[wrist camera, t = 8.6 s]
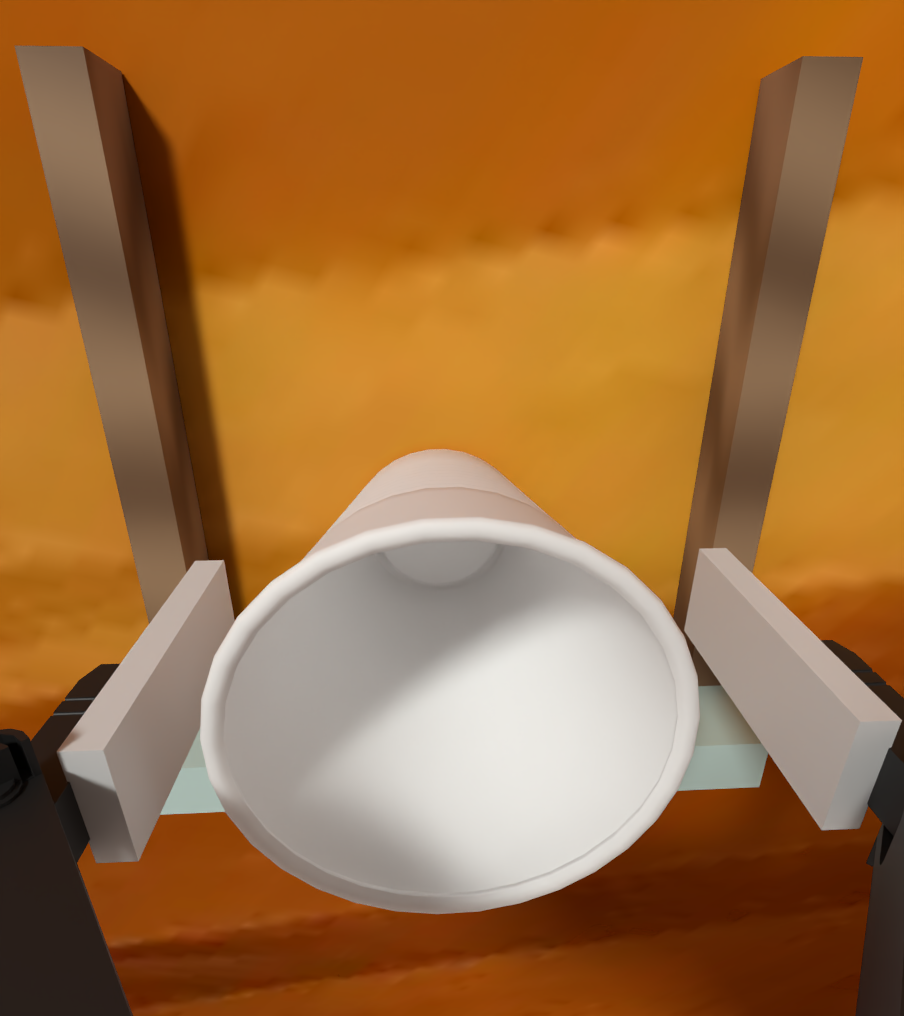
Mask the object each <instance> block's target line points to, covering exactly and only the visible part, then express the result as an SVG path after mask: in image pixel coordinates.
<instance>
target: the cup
mask: <svg viewBox="0 0 904 1016" xmlns="http://www.w3.org/2000/svg"><path fill="white" fill-rule="evenodd" d="M699 720H700V706H699V690H698V676H697V673H696V670H695V667H694V664H693V661H692V658H691V655H690V652H689V649H688V646H687V643H686V639H685V637H684V635H683V634H682V632H681V630H680V629H679V627H678V626H677V624H676V623H675V621H674V619H673V618H672V616H671V615H670V613H669V612H668V610H667V609H666V607H665V605H664V604H663V602H662V601H661V599H660V598H659V597H658V596H656V595H655V594H654V593H653V592H652V591H651V590H650V589H649V588H648V587H647V586H646V585H645V584H644V583H643V582H642V581H641V580H640V579H639V578H638V577H637V576H636V575H635V574H633V573H632V572H631V571H630V570H629V569H628V568H627V567H625V566H624V565H622V564H620V563H619V562H617V561H615V560H614V559H612V558H610V557H609V556H607V555H606V554H604V553H602V552H601V551H599V550H597V549H596V548H594V547H592V546H591V545H589V544H587V543H586V542H583V541H580V540H578V539H576V538H575V537H574V536H572V535H571V534H570V533H569V532H568V531H567V530H565V529H564V528H563V527H562V526H561V525H560V524H559V523H557V522H556V521H555V520H554V519H552V518H551V517H550V516H549V515H548V514H546V513H545V512H544V511H543V510H542V509H541V508H540V507H539V506H538V505H536V504H535V503H534V502H533V501H532V500H530V499H529V498H528V497H527V496H526V495H525V494H524V493H523V492H521V491H520V490H519V489H518V488H517V487H516V486H515V485H513V484H512V483H511V482H510V481H509V480H508V479H507V478H506V477H505V476H503V475H502V474H501V473H500V472H499V471H498V470H497V469H495V468H494V467H493V466H491V465H490V464H488V463H487V462H485V461H483V460H482V459H480V458H478V457H475V456H473V455H470V454H467V453H464V452H460V451H454V450H448V449H432V450H424V451H419V452H415V453H411V454H408V455H406V456H404V457H401V458H399V459H397V460H395V461H393V462H392V463H390V464H389V465H387V466H386V467H384V468H383V469H382V470H380V471H379V472H378V473H377V474H376V476H375V477H374V478H373V479H372V480H371V481H370V482H369V483H368V484H367V485H366V486H365V488H364V489H363V490H362V491H361V492H360V493H359V494H358V496H357V497H356V498H355V500H354V501H353V502H352V503H351V504H350V505H349V507H348V508H347V509H346V510H345V511H344V512H343V513H342V515H341V516H340V517H339V518H338V519H337V520H336V522H335V523H334V524H333V525H332V526H331V528H330V529H329V530H328V531H327V532H326V534H325V535H324V536H323V537H322V538H321V539H320V541H319V542H318V543H317V544H316V545H315V546H314V547H313V548H312V549H311V550H310V551H309V553H308V554H307V555H306V556H305V557H304V558H303V560H302V561H301V562H299V563H298V564H296V565H295V566H293V567H292V568H290V569H289V570H287V571H286V572H284V573H283V574H282V575H280V576H279V577H277V578H276V579H274V580H273V581H271V582H270V583H269V584H268V585H267V587H266V588H265V589H264V590H263V591H262V592H261V593H260V594H259V595H258V596H257V597H256V598H255V599H254V600H253V601H252V602H251V603H250V604H249V605H248V606H247V607H246V608H245V609H244V610H243V611H242V613H241V614H240V615H239V616H238V617H237V618H236V620H235V622H234V623H233V625H232V627H231V629H230V630H229V632H228V634H227V635H226V637H225V639H224V640H223V642H222V644H221V645H220V647H219V649H218V650H217V652H216V654H215V655H214V658H213V662H212V665H211V668H210V672H209V675H208V678H207V682H206V685H205V688H204V692H203V695H202V698H201V725H200V742H201V746H202V751H203V755H204V759H205V764H206V768H207V773H208V777H209V780H210V782H211V784H212V786H213V788H214V790H215V792H216V794H217V796H218V798H219V800H220V802H221V804H222V806H223V808H224V810H225V812H226V814H227V815H228V816H229V817H230V819H231V820H232V821H233V822H234V824H235V825H236V826H237V827H238V828H239V830H240V831H241V832H242V833H243V835H244V836H245V837H246V838H247V839H248V841H249V842H250V843H251V844H252V845H253V846H254V847H256V848H257V849H258V850H259V851H260V852H262V853H263V854H264V855H265V856H267V857H268V858H269V859H270V860H271V861H273V862H274V863H275V864H276V865H277V866H279V867H280V868H281V869H283V870H285V871H286V872H288V873H290V874H292V875H293V876H295V877H297V878H299V879H301V880H302V881H304V882H306V883H308V884H309V885H311V886H313V887H315V888H317V889H319V890H322V891H325V892H328V893H330V894H333V895H336V896H338V897H341V898H344V899H347V900H349V901H352V902H355V903H359V904H364V905H369V906H374V907H378V908H383V909H388V910H393V911H402V912H416V913H430V914H445V913H461V912H477V911H483V910H488V909H493V908H499V907H504V906H509V905H514V904H519V903H522V902H525V901H528V900H531V899H534V898H537V897H540V896H543V895H546V894H549V893H552V892H555V891H558V890H560V889H562V888H564V887H566V886H568V885H570V884H572V883H574V882H576V881H578V880H580V879H582V878H584V877H586V876H588V875H590V874H592V873H594V872H596V871H597V870H599V869H600V868H601V867H603V866H604V865H606V864H607V863H608V862H610V861H611V860H613V859H614V858H616V857H617V856H618V855H620V854H621V853H623V852H624V851H625V850H627V849H628V848H629V847H630V846H631V845H632V844H633V843H634V842H635V841H636V840H637V839H638V838H639V837H640V836H641V835H642V834H643V833H644V832H645V831H646V830H647V829H648V828H649V827H651V826H652V825H653V824H654V823H655V822H656V820H657V819H658V817H659V816H660V815H661V813H662V812H663V810H664V809H665V807H666V806H667V805H668V803H669V802H670V800H671V799H672V797H673V796H674V795H675V793H676V792H677V790H678V789H679V786H680V784H681V782H682V779H683V777H684V775H685V772H686V770H687V768H688V765H689V763H690V761H691V758H692V756H693V753H694V748H695V742H696V737H697V731H698V726H699Z"/></svg>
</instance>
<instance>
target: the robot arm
mask: <svg viewBox="0 0 904 1016" xmlns="http://www.w3.org/2000/svg"><path fill="white" fill-rule="evenodd" d="M234 622H235V619H234V614H233V608H232V602H231V597H230V591H229V586H228V580H227V574H226V569H225V563H224V560H209V561H195V562H194V563H193V565H192V566H191V567H190V569H189V570H188V571H187V573H186V574H185V576H184V577H183V578H182V580H181V581H180V582H179V584H178V585H177V587H176V588H175V589H174V591H173V592H172V593H171V595H170V596H169V598H168V599H167V600H166V602H165V603H164V604H163V606H162V607H161V609H160V610H159V611H158V613H157V614H156V615H155V617H154V618H153V620H152V621H151V622H150V624H149V625H148V626H147V628H146V629H145V631H144V632H143V633H142V635H141V636H140V638H139V639H138V640H137V642H136V643H135V644H134V646H133V647H132V649H131V650H130V651H129V653H128V654H127V655H126V657H125V658H124V660H123V661H122V662H121V664H101V665H100V666H98V667H97V668H95V669H94V670H93V671H91V672H90V673H88V674H87V675H86V676H84V677H83V678H82V679H80V680H79V681H78V682H77V684H76V685H75V686H74V687H73V689H72V690H71V691H70V692H69V694H68V695H67V696H66V697H65V701H62V703H61V704H60V705H59V706H58V708H57V709H56V710H55V711H54V715H53V716H50V718H49V719H48V720H47V721H46V723H45V724H44V725H43V726H42V728H41V729H40V730H39V731H38V733H37V734H36V735H35V736H34V738H33V739H32V740H31V742H30V739H29V737H28V736H27V735H26V734H25V733H24V732H23V731H19V730H15V729H3V730H0V1016H133V1014H132V1012H131V1009H130V1006H129V1004H128V1001H127V998H126V995H125V993H124V990H123V987H122V985H121V982H120V979H119V976H118V974H117V971H116V968H115V965H114V963H113V960H112V957H111V955H110V952H109V949H108V946H107V944H106V941H105V938H104V936H103V933H102V930H101V927H100V925H99V922H98V919H97V917H96V914H95V911H94V908H93V906H92V903H91V900H90V898H89V895H88V892H87V889H86V887H85V884H84V881H83V878H82V876H81V873H80V870H79V868H78V865H77V862H78V860H79V858H80V856H81V855H82V853H83V851H84V849H85V848H86V846H87V844H88V842H89V844H90V847H91V849H92V852H93V855H94V858H95V860H96V863H108V862H130V861H139V859H140V857H141V854H142V852H143V850H144V848H145V846H146V844H147V841H148V839H149V837H150V835H151V833H152V831H153V829H154V826H155V824H156V822H157V820H158V818H159V816H160V813H161V811H162V809H163V807H164V805H165V803H166V800H167V798H168V796H169V794H170V792H171V790H172V787H173V785H174V783H175V781H176V779H177V777H178V775H179V772H180V770H181V768H182V766H183V764H184V762H185V759H186V757H187V755H188V753H189V751H190V749H191V746H192V744H193V742H194V740H195V738H196V736H197V733H198V731H199V729H200V725H201V698H202V695H203V692H204V688H205V685H206V682H207V678H208V675H209V672H210V668H211V665H212V662H213V658H214V655H215V654H216V652H217V650H218V649H219V647H220V645H221V644H222V642H223V640H224V639H225V637H226V635H227V634H228V632H229V630H230V629H231V627H232V625H233V623H234ZM684 631H685V633H686V634H687V636H688V637H689V638H690V640H691V641H692V643H693V644H694V646H695V647H696V649H697V650H698V652H699V653H700V654H701V656H702V657H703V659H704V660H705V662H706V663H707V665H708V666H709V668H710V669H711V670H712V672H713V673H714V675H715V676H716V678H717V679H718V681H719V682H720V683H721V685H722V686H723V688H724V689H725V691H726V692H727V694H728V695H729V697H730V698H731V699H732V701H733V702H734V704H735V705H736V707H737V708H738V710H739V711H740V713H741V714H742V715H743V717H744V718H745V720H746V721H747V723H748V724H749V726H750V727H751V728H752V730H753V731H754V733H755V734H756V736H757V737H758V739H759V740H760V742H761V743H762V744H763V746H764V747H765V749H766V750H767V752H768V753H769V755H770V756H771V758H772V759H773V760H774V762H775V763H776V765H777V766H778V768H779V769H780V771H781V772H782V773H783V775H784V776H785V778H786V779H787V781H788V782H789V784H790V785H791V787H792V788H793V789H794V791H795V792H796V794H797V795H798V797H799V798H800V800H801V801H802V803H803V804H804V805H805V807H806V808H807V810H808V811H809V813H810V814H811V816H812V817H813V819H814V820H815V821H816V823H817V824H818V826H819V827H820V829H821V830H838V829H859V828H860V826H861V823H862V821H863V818H864V816H865V813H866V811H867V808H868V806H869V807H870V808H871V809H872V811H873V812H874V813H875V814H876V816H877V817H878V818H879V819H880V821H881V822H882V826H881V828H880V831H879V833H878V836H877V838H876V840H875V843H874V845H873V848H872V850H871V852H870V855H869V857H868V860H867V862H866V863H867V864H869V865H871V866H874V867H873V875H872V883H871V892H870V900H869V908H868V916H867V925H866V933H865V941H864V949H863V958H862V966H861V974H860V983H859V991H858V999H857V1007H856V1016H904V698H902V697H901V696H900V695H899V694H898V693H897V692H896V691H895V690H894V689H893V688H892V687H891V686H890V685H886V682H885V681H884V680H883V679H882V678H881V677H880V676H879V675H878V674H877V673H876V672H872V669H871V668H870V667H869V666H868V665H867V664H866V663H865V662H864V661H863V660H862V659H861V658H860V657H858V656H857V655H856V654H855V653H853V652H852V651H850V650H848V649H847V648H845V647H843V646H841V645H840V644H838V643H836V642H834V641H833V640H819V639H818V638H817V637H816V636H815V635H814V634H813V633H812V632H811V631H810V630H809V629H808V628H807V627H806V626H805V625H804V624H803V623H802V622H801V621H800V620H799V619H798V618H797V617H796V616H795V615H794V614H793V613H792V612H791V611H790V610H789V609H788V608H787V607H786V606H785V605H784V604H783V603H782V602H781V601H780V600H779V599H778V598H777V597H776V596H775V595H774V594H773V593H771V592H770V591H769V590H768V589H767V588H766V587H765V586H764V585H763V584H762V583H761V582H760V581H759V580H758V579H757V578H756V577H755V576H754V575H753V574H752V573H751V572H750V571H749V570H748V569H747V568H746V567H745V566H744V565H743V564H742V563H741V562H740V561H739V560H738V559H737V558H736V557H735V556H734V555H733V554H732V553H731V552H730V551H729V550H728V549H727V548H705V549H699V553H698V559H697V564H696V569H695V575H694V580H693V585H692V591H691V596H690V601H689V607H688V612H687V618H686V623H685V628H684Z"/></svg>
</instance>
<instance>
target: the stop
mask: <svg viewBox="0 0 904 1016" xmlns="http://www.w3.org/2000/svg"><path fill="white" fill-rule="evenodd" d="M698 690H699V706H700V720H699V726H698V731H697V737H696V742H695V748H694V753H693V756H692V758H691V761H690V763H689V765H688V768H687V770H686V772H685V775H684V777H683V779H682V782H681V784H680V786H679V789H678V790H677V791H683V790H704V789H726V788H748V787H759V786H760V782H761V778H762V775H763V771H764V767H765V763H766V759H767V755H768V752H767V750H766V749H765V747H764V746H763V744H762V743H761V742H760V740H759V739H758V737H757V736H756V734H755V733H754V731H753V730H752V728H751V727H750V726H749V724H748V723H747V721H746V720H745V718H744V717H743V715H742V714H741V713H740V711H739V710H738V708H737V707H736V705H735V704H734V702H733V701H732V699H731V698H730V697H729V695H728V694H727V692H726V691H725V689H724V688H723V686H722V685H720V686H698ZM206 812H225V810H224V808H223V806H222V804H221V802H220V800H219V798H218V796H217V794H216V792H215V790H214V788H213V786H212V784H211V782H210V780H209V777H208V773H207V768H206V764H205V759H204V755H203V751H202V746H201V742H200V729H199V731H198V733H197V736H196V738H195V740H194V742H193V744H192V746H191V749H190V751H189V753H188V755H187V757H186V759H185V762H184V764H183V766H182V768H181V770H180V772H179V775H178V777H177V779H176V781H175V783H174V785H173V787H172V790H171V792H170V794H169V796H168V798H167V800H166V803H165V805H164V807H163V809H162V811H161V813H160V815H162V814H184V813H206Z"/></svg>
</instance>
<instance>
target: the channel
mask: <svg viewBox="0 0 904 1016" xmlns="http://www.w3.org/2000/svg"><path fill="white" fill-rule="evenodd" d="M15 49H16V53H17V58H18V62H19V66H20V71H21V75H22V79H23V83H24V88H25V92H26V96H27V101H28V105H29V109H30V114H31V118H32V122H33V126H34V131H35V135H36V139H37V144H38V148H39V152H40V156H41V161H42V165H43V169H44V174H45V178H46V182H47V187H48V191H49V195H50V199H51V204H52V208H53V212H54V217H55V221H56V225H57V229H58V234H59V238H60V242H61V247H62V251H63V255H64V260H65V264H66V268H67V272H68V277H69V281H70V285H71V290H72V294H73V298H74V302H75V307H76V311H77V315H78V320H79V324H80V328H81V333H82V337H83V341H84V345H85V350H86V354H87V358H88V363H89V367H90V371H91V375H92V380H93V384H94V388H95V393H96V397H97V401H98V406H99V410H100V414H101V418H102V423H103V427H104V431H105V436H106V440H107V444H108V448H109V453H110V457H111V461H112V466H113V470H114V474H115V479H116V483H117V487H118V491H119V496H120V500H121V504H122V509H123V513H124V517H125V521H126V526H127V530H128V534H129V539H130V543H131V547H132V552H133V556H134V560H135V564H136V569H137V573H138V577H139V582H140V586H141V590H142V594H143V599H144V603H145V607H146V612H147V616H148V620H149V624H150V622H151V621H152V620H153V618H154V617H155V615H156V614H157V613H158V611H159V610H160V609H161V607H162V606H163V604H164V603H165V602H166V600H167V599H168V598H169V596H170V595H171V593H172V592H173V591H174V589H175V588H176V587H177V585H178V584H179V582H180V581H181V580H182V578H183V577H184V576H185V574H186V573H187V571H188V570H189V569H190V567H191V566H192V565H193V563H194V562H195V561H209V559H208V553H207V548H206V542H205V536H204V531H203V525H202V520H201V514H200V509H199V503H198V497H197V492H196V486H195V481H194V475H193V469H192V464H191V458H190V453H189V447H188V442H187V436H186V430H185V425H184V419H183V414H182V408H181V403H180V397H179V391H178V386H177V380H176V375H175V369H174V363H173V358H172V352H171V347H170V341H169V336H168V330H167V324H166V319H165V313H164V308H163V302H162V297H161V291H160V285H159V280H158V274H157V269H156V263H155V258H154V252H153V246H152V241H151V235H150V230H149V224H148V218H147V213H146V207H145V202H144V196H143V191H142V185H141V179H140V174H139V168H138V163H137V157H136V152H135V146H134V140H133V135H132V129H131V124H130V118H129V112H128V107H127V101H126V96H125V90H124V85H123V79H122V73H121V71H119V70H118V69H116V68H115V67H113V66H112V65H110V64H109V63H107V62H106V61H104V60H103V59H101V58H99V57H98V56H96V55H95V54H93V53H92V52H90V51H89V50H87V49H86V48H84V47H69V46H15ZM862 60H863V57H814V56H803V57H801V58H799V59H797V60H795V61H793V62H792V63H790V64H788V65H786V66H784V67H782V68H781V69H779V70H777V71H775V72H773V73H771V74H770V75H768V76H766V77H764V78H762V79H761V84H760V90H759V96H758V102H757V108H756V114H755V121H754V127H753V133H752V139H751V145H750V151H749V157H748V164H747V170H746V176H745V182H744V188H743V194H742V200H741V206H740V213H739V219H738V225H737V231H736V237H735V243H734V249H733V256H732V262H731V268H730V274H729V280H728V286H727V292H726V299H725V305H724V311H723V317H722V323H721V329H720V335H719V341H718V348H717V354H716V360H715V366H714V372H713V378H712V384H711V391H710V397H709V403H708V409H707V415H706V421H705V427H704V433H703V440H702V446H701V452H700V458H699V464H698V470H697V476H696V483H695V489H694V495H693V501H692V507H691V513H690V519H689V525H688V532H687V538H686V544H685V550H684V556H683V562H682V568H681V575H680V581H679V587H678V593H677V599H676V605H675V611H674V617H673V619H674V621H675V623H676V624H677V626H678V627H679V629H680V630H681V632H682V634H683V635H684V637H685V639H686V643H687V646H688V649H689V652H690V655H691V658H692V661H693V664H694V667H695V670H696V673H697V676H698V686H720V685H721V683H720V682H719V681H718V679H717V678H716V676H715V675H714V673H713V672H712V670H711V669H710V668H709V666H708V665H707V663H706V662H705V660H704V659H703V657H702V656H701V654H700V653H699V652H698V650H697V649H696V647H695V646H694V644H693V643H692V641H691V640H690V638H689V637H688V636H687V634H686V633H685V631H684V628H685V623H686V618H687V612H688V607H689V601H690V596H691V591H692V585H693V580H694V575H695V569H696V564H697V559H698V553H699V549H705V548H727V549H728V550H729V551H730V552H731V553H732V554H733V555H734V556H735V557H736V558H737V559H738V560H739V561H740V562H741V563H742V564H743V565H744V566H745V567H746V568H747V569H748V570H749V571H750V572H751V573H752V571H753V567H754V562H755V558H756V553H757V548H758V544H759V539H760V534H761V530H762V525H763V520H764V516H765V511H766V506H767V502H768V497H769V492H770V488H771V483H772V479H773V474H774V469H775V465H776V460H777V455H778V451H779V446H780V441H781V437H782V432H783V427H784V423H785V418H786V413H787V409H788V404H789V399H790V395H791V390H792V386H793V381H794V376H795V372H796V367H797V362H798V358H799V353H800V348H801V344H802V339H803V334H804V330H805V325H806V320H807V316H808V311H809V306H810V302H811V297H812V293H813V288H814V283H815V279H816V274H817V269H818V265H819V260H820V255H821V251H822V246H823V241H824V237H825V232H826V227H827V223H828V218H829V213H830V209H831V204H832V200H833V195H834V190H835V186H836V181H837V176H838V172H839V167H840V162H841V158H842V153H843V148H844V144H845V139H846V134H847V130H848V125H849V120H850V116H851V111H852V107H853V102H854V97H855V93H856V88H857V83H858V79H859V74H860V69H861V65H862Z"/></svg>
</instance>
